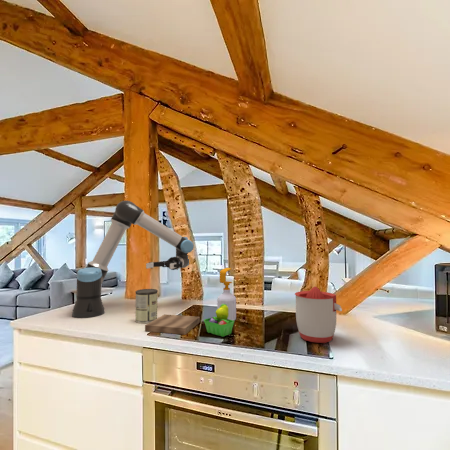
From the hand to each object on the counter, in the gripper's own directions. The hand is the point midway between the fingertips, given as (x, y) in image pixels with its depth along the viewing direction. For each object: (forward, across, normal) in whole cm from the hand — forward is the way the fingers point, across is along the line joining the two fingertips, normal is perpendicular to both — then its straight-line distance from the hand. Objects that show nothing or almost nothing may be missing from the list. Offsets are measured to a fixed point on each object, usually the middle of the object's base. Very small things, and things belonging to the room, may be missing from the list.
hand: (158, 266), depth 148 cm
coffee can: (+12, 0, -25) cm, 28 cm away
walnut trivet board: (+18, -17, -25) cm, 35 cm away
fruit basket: (+21, -39, -25) cm, 51 cm away
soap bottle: (+1, -37, -25) cm, 45 cm away
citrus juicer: (+19, -78, -25) cm, 84 cm away
